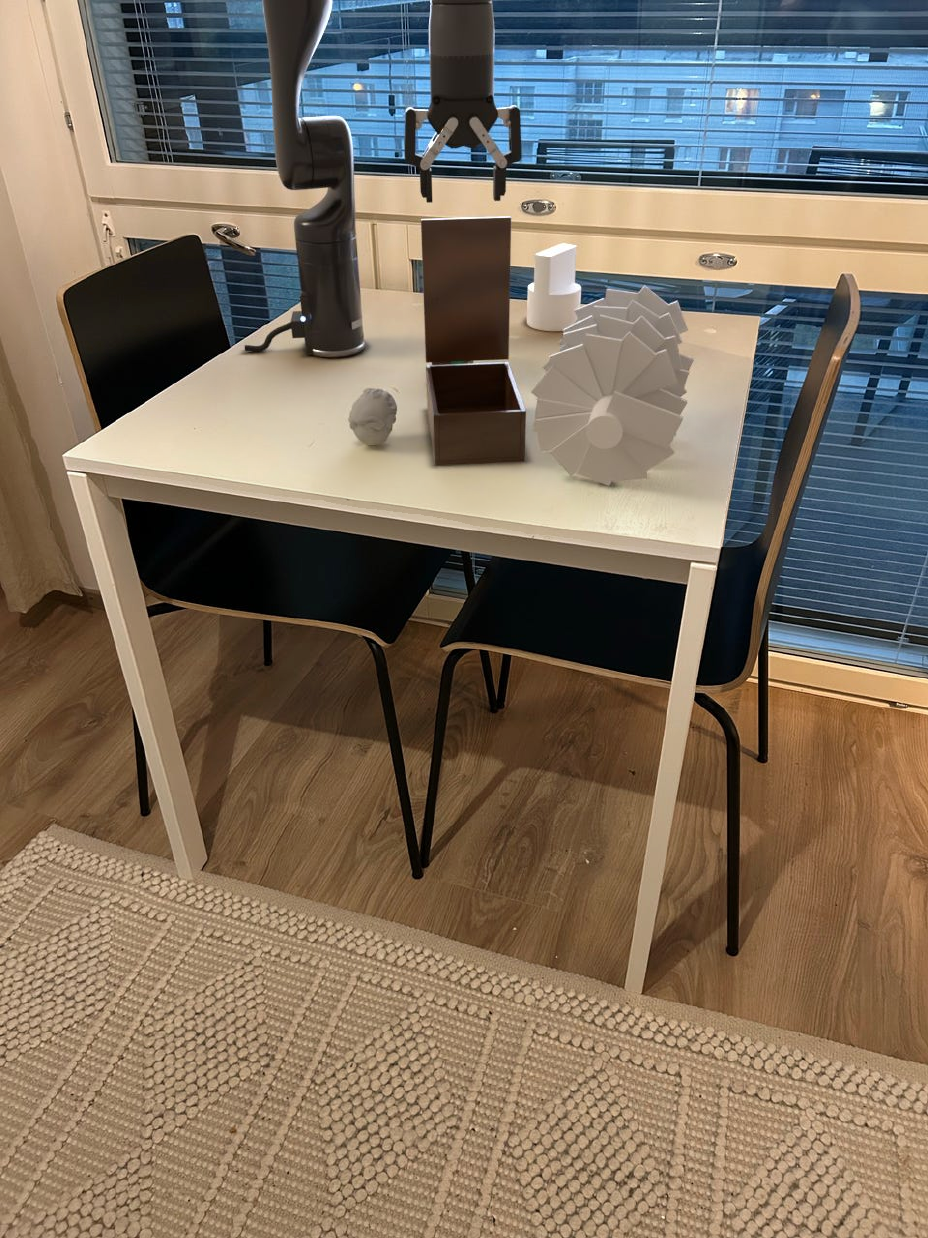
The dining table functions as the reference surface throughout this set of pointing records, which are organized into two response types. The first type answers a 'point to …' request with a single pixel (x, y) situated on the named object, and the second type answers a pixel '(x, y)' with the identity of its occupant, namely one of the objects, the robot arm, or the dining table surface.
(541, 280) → the base with upright slab
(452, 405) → the chest
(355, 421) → the grey rounded lumpy piece
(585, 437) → the spiral staircase
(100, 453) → the dining table surface
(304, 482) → the dining table surface
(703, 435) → the dining table surface
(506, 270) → the chest lid
